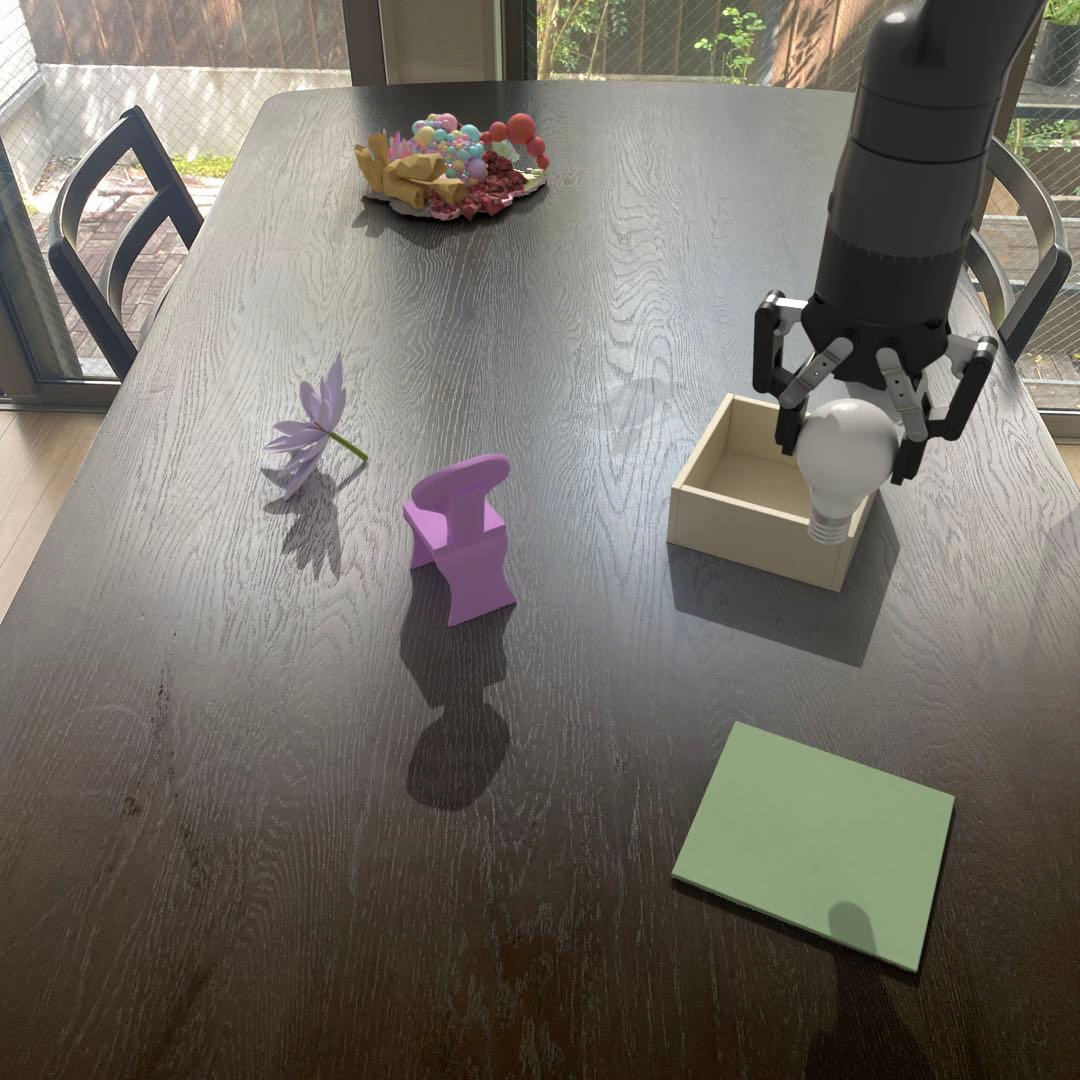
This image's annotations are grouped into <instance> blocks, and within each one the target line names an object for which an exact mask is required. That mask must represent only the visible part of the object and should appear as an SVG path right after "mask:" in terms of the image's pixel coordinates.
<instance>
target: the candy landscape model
mask: <svg viewBox="0 0 1080 1080" xmlns="http://www.w3.org/2000/svg"><path fill="white" fill-rule="evenodd" d="M411 131H412V133H413V134H414V135H413V136H412V137H411V138H410V140H409V139H407V140H406V139H405V137H402V140H401V131H400V130H399V131H398V130H396V132H395V136H394V137H392V136H389V139H388V140H387V132H386V128H383V130H382V133H381V132H380V130H379V131H378V133H373V134H371V132H369V134H368V135H367V140H366V146H364V145H362V144H361V145H360V144H358V143H356V144H355V145H354V148H353V149H352V150H353V153H354V156H355V158H356V160H357V161H356V162H357V164H358V168H359V170H360V171H361V173H362V175H363V178H364V179H365V180H366V181H367V184H366V183H364V184H365V185H364V184H363V186H362V188H361V190H360V192H361V193H363V196H364V197H366V198H369V199H377V200H379V201H386V202H387V201H388V202H389V206H390V207H392V208H391V209H392V210H393V211H395V212H397V213H399V214H400V215H411V216H414V217H422V218H423V217H426V218H431V217H432V218H434V219H439V220H441V221H449V220H450V221H451V220H454V219H457V218H459V217H460V216H461V215H463V216H464V217H465V218H466V219H467V220H468V221H469V222H471V221H472V220H473V218H474V217H475V215H476V213H477V212H478V213H488V214H489V216H490V217H492V216H494V215H497V214H498V213H499V212H501V211H502V210H505V209H506V207H509V206H511V205H513V201H512V200H514V199H513V197H515V196H520V195H522V194H528V193H529V192H530V191H531V190H533V189H535V188H537V185H538V184H540V183H541V182H542V180H545V177H534V176H542V175H540V174H543V175H544V176H547V177H548V176H549V174H550V172H549V170H548V168H549V166H550V159H549V157H548V156H546V155H545V154H544V153H545V152H546V149H547V147H546V142H545V140H543V139H542V137H540V136H535V135H536V131H537V127H536V123H535V121H534V120H533V118H532V116H530V115H528V114H527V113H523V112H521V113H515V114H514V115H513V116H511V117H510V118H509V119H508V121H507V123H506V124H505V123H504V122H501V121H495V122H494V123H492V124H491V125H490V127H489V130H487V131H483V132H482V131H479V129H478V128H477V127H476V126H474V125H472V124H465V125H463V124H462V123H460V122H459V121H458V119H457V118H456V117H455V116H454V115H453V114H450V113H448V112H447V113H443V114H435V113H430V114H428V116H427V119H425V120H422V119H421V120H417V121H415V122H414V123H413V124H412V126H411ZM507 138H509V139H507ZM511 142H512V143H513V144H515V145H518V146H524V145H525V151H526V153H527V155H528V156H530V157H532V158H534V159H535V158H536V159H535V162H536V165H537V167H538V168H539V169H534V170H533V169H532V168H527V170H532V171H531V174H525V173H521V172H524V171H520V170H516V169H513V168H514V166H513V164H512V163H513V162H516V161H517V160H519V159H520V158H519V157H520V156H518V155H519V154H517V150H516V148H515V147H514V146H513V145H512V143H511ZM388 143H389V144H388ZM389 146H390V147H389ZM445 161H446V163H445ZM450 163H451V164H450ZM540 169H541V170H540ZM542 170H543V171H542ZM368 182H369V183H368ZM510 204H511V205H510Z"/></svg>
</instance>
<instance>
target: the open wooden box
mask: <svg viewBox="0 0 1080 1080" xmlns="http://www.w3.org/2000/svg"><path fill="white" fill-rule="evenodd" d="M779 408H780V405H779V404H777V403H773V402H768V401H765V400H759V399H756V398H752V397H748V396H743V395H739V394H735V393H731V392H727V393H726V394H725V396H724V398H723V399H722V401H721V403H720V404H719V406H718V408H717V410H716V411H715V413H714V414H713V416H712V418H711V419H710V421H709V423H708V425H707V426H706V428H705V430H704V432H703V433H702V435H701V437H700V438H699V440H698V442H697V443H696V445H695V447H694V448H693V449H692V451H691V453H690V455H689V456H688V458H687V460H686V461H685V463H684V465H683V467H682V468H681V470H680V472H679V474H678V475H677V477H676V478H675V480H674V482H673V484H672V485H671V488H670V498H669V507H668V508H669V509H668V518H667V521H668V522H667V528H666V539H665V542H667V543H670V544H673V545H676V546H680V547H683V548H687V549H690V550H694V551H697V552H701V553H704V554H707V555H711V556H714V557H717V558H720V559H723V560H727V561H731V562H735V563H738V564H740V565H743V566H748V567H752V568H755V569H758V570H761V571H765V572H768V573H771V574H774V575H778V576H781V577H785V578H788V579H792V580H795V581H797V582H798V581H799V582H801V583H805V584H809V585H812V586H816V587H818V588H822V589H825V590H829V591H832V592H835V593H841V590H842V589H843V585H844V581H845V580H846V577H847V574H848V571H849V568H850V566H851V564H852V561H853V559H854V555H855V553H856V550H857V547H858V544H859V542H860V540H861V536H862V534H863V531H864V528H865V526H866V523H867V520H868V518H869V515H870V512H871V510H872V507H873V504H874V502H875V500H876V499H875V498H876V496H877V494H878V491H879V488H878V489H877V490H875V491H874V492H872V493H871V494H869V495H867V496H866V497H865V498H864V499H863V501H862V503H861V505H860V506H859V508H858V509H857V510H856V511H855V512H854V513H853V517H852V521H851V523H850V528H849V532H848V537H847V539H846V541H845V542H843V543H842V544H839V545H835V546H827V545H822V544H819V543H817V542H816V541H814V540H813V539H812V538H811V537H810V536H809V534H808V527H809V522H810V516H811V513H812V512H811V511H812V506H813V505H812V502H811V498H810V486H809V484H808V483H807V481H806V480H805V478H804V477H803V475H802V473H801V471H800V469H799V466H798V463H797V459H796V451H795V453H794V455H793V456H792V457H791V456H787V455H783V454H781V452H782V447H783V446H781V445H777V444H776V441H775V438H774V436H775V431H776V425H777V419H778V413H779ZM811 413H812V412H809V411H806V415H805V420H806V419H807V417H808V416H809V415H810V414H811ZM805 420H804V421H805Z"/></svg>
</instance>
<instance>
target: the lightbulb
mask: <svg viewBox="0 0 1080 1080" xmlns="http://www.w3.org/2000/svg"><path fill="white" fill-rule="evenodd" d="M810 413H811V414H810V415H809V416H808V417H807V419H806V420H805V421H804V423H803V425H802V426H801V428H800V431H799V433H798V436H797V440H796V459H797V463H798V466H799V469H800V471H801V473H802V475H803V477H804V478H805V480H806V481H807V483H808V484H809V486H810V498H811V502H812V505H813V506H812V511H811V512H812V513H811V516H810V522H809V527H808V534H809V536H810V537H811V538H812V539H813V540H814V541H816V542H817V543H819V544H822V545H827V546H835V545H839V544H842V543H843V542H845V541H846V539H847V537H848V532H849V528H850V523H851V521H852V517H853V513H854V512H855V511H856V510H857V509H858V508H859V506H860V505H861V503H862V501H863V499H864V498H865V497H866V496H867V495H869V494H871V493H872V492H874V491H875V490H877V489H878V490H879V489H880V488H881V487H883V485H884V484H885V483H886V482H887V481H888V480H889V478H890V477H891V476H892V473H893V470H894V466H895V462H896V459H897V455H898V451H899V448H900V439H899V435H898V431H897V428H896V426H895V425H894V422H893V421H892V419H891V418H890V417H889V415H888V414H887V413H886V412H885V411H884V410H883V409H881V408H880V407H879V406H877V405H876V404H874V403H871V402H869V401H867V400H863V399H860V398H855V397H854V398H853V397H845V398H839V399H834V400H833V399H832V400H830V401H828V402H826V403H823V404H822V405H820V406H819V407H817V408H816V409H814V410H813V411H812V412H810Z"/></svg>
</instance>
